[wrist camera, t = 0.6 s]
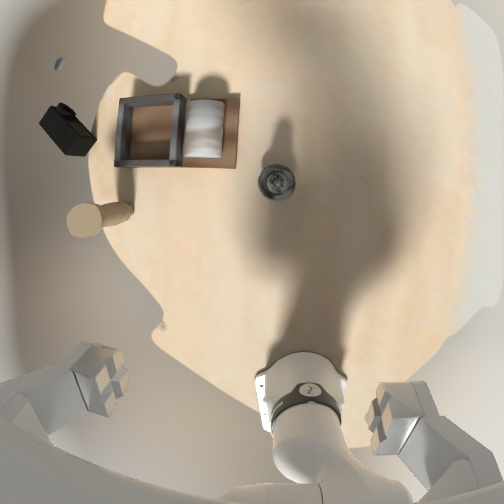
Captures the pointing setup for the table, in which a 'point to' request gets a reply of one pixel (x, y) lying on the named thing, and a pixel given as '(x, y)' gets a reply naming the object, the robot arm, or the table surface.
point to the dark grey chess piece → (276, 182)
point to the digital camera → (67, 131)
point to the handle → (96, 217)
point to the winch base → (176, 132)
